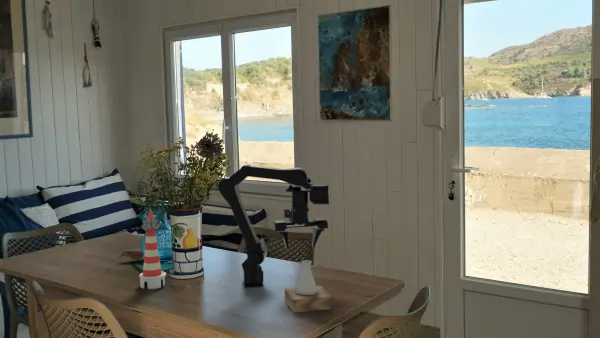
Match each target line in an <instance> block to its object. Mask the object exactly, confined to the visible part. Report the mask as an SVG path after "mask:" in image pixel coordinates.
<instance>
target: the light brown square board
mask: <svg viewBox="0 0 600 338" xmlns="http://www.w3.org/2000/svg"><path fill="white" fill-rule="evenodd" d="M316 286H317V289H318V293H316V294H314V295H301V294H296V289H297V287H289V288H284V302H285V303H286V304H287V306H288V307H289V309H290V310H291V312H292V313H304V312H306V313H307V312H317V311H318V312H319V311H327V310H332V295H330V294H329V292H327V290H326V289H325V288H323V286H321V285H316Z"/></svg>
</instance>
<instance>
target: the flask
mask: <svg viewBox="0 0 600 338" xmlns="http://www.w3.org/2000/svg"><path fill="white" fill-rule="evenodd" d="M312 263H313V262H312V260H307V259H306V260H301V264H302V271H301V275H300V278H299V282H298V283H297V287H296V288H297V289H296V294H301V295H314V294H316V293H318V289H317V286H318V285H317V284H316V281H315V279H314V275H313V272H312Z"/></svg>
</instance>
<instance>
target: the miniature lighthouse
mask: <svg viewBox="0 0 600 338" xmlns="http://www.w3.org/2000/svg"><path fill="white" fill-rule="evenodd" d="M144 218H145V219H143V224H141V229H142V230H145V240H144V241H145V242H144V243H145V244H144V249H145V253H144V261H143V267H142V272H141V273H139V275H138V277H139V282H140V288H141V289H144V290H155V289H160V288H163V287H164V286H165V283H166V282H165V281H166V279H165V277H167V272H165V271H163V270H162V267H161V259H160V254H159V253H158V249H159V246H158V241H157V232H156V230H157V229H160V224H159V223H158V219H157V215H156V214H153V213H152V208H149V209H148V213H147V215H144Z"/></svg>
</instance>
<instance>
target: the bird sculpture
mask: <svg viewBox="0 0 600 338" xmlns="http://www.w3.org/2000/svg"><path fill="white" fill-rule="evenodd" d="M141 249H142V248H133V249H125V250H124V251H122V253H121V254H120V255H118V256H117V259H119V258H121V257H125V258H128V259H132V260H136V261H139V262H144V261H143V260H140V259H141V258H142V257H143V254H142V251H141Z"/></svg>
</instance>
